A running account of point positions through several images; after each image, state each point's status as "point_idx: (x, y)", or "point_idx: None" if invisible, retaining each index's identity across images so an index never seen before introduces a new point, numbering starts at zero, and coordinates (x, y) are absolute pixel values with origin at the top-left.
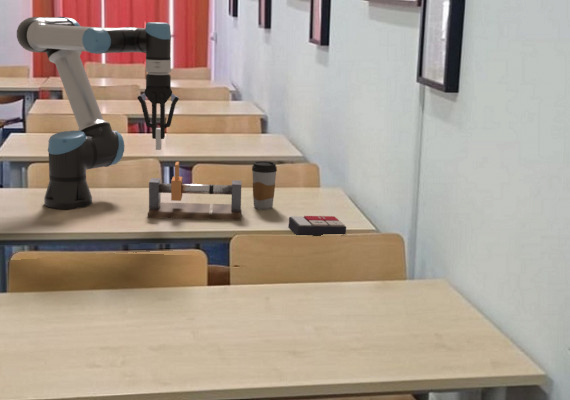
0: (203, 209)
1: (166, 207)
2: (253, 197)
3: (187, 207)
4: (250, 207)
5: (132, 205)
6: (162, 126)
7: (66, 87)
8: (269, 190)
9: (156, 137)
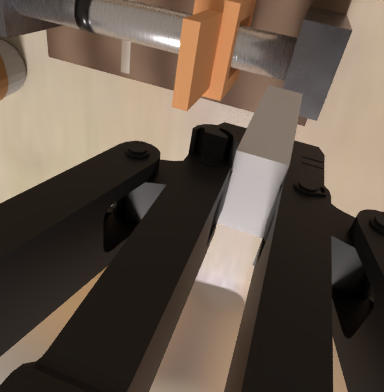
0: (151, 1)
1: None
2: (9, 75)
3: None
4: (35, 68)
5: (367, 148)
6: (205, 158)
7: None
8: None
9: (288, 127)
